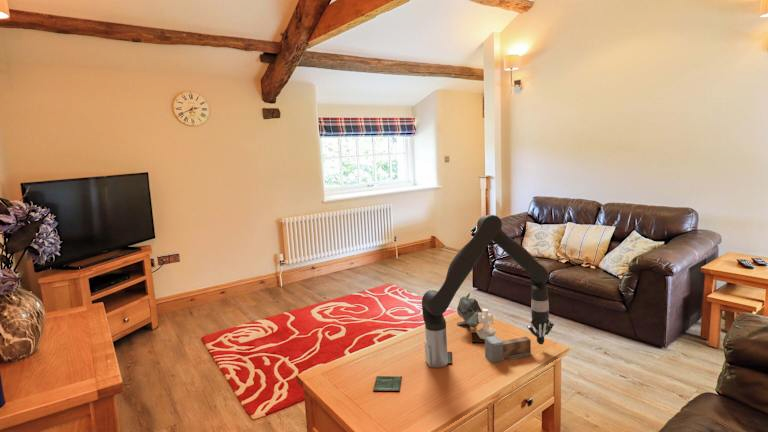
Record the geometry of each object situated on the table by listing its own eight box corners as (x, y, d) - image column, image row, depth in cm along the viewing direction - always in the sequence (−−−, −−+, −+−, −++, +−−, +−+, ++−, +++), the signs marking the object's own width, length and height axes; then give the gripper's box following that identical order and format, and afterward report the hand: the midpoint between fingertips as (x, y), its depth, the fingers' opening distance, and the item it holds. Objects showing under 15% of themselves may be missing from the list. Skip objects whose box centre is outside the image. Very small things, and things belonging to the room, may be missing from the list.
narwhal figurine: (456, 335, 218) (454, 301, 216) (456, 322, 233) (455, 291, 230) (484, 335, 216) (483, 301, 213) (483, 323, 231) (482, 291, 228)
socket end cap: (492, 363, 189) (491, 344, 187) (485, 356, 195) (484, 337, 194) (503, 360, 190) (503, 342, 189) (496, 353, 197) (495, 335, 195)
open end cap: (509, 359, 191) (509, 356, 190) (502, 352, 197) (502, 349, 197) (529, 355, 193) (529, 352, 192) (521, 349, 199) (521, 346, 199)
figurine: (498, 337, 213) (497, 308, 211) (485, 343, 208) (484, 314, 205) (486, 332, 219) (485, 304, 216) (474, 338, 213) (473, 310, 211)
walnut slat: (502, 359, 192) (502, 344, 191) (498, 355, 195) (498, 341, 194) (530, 354, 195) (530, 339, 193) (526, 350, 198) (526, 336, 197)
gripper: (548, 303, 199) (548, 337, 202) (522, 307, 197) (523, 342, 199) (557, 308, 192) (558, 344, 195) (531, 313, 189) (532, 349, 192)
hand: (540, 343), depth 197 cm, fingers closed
